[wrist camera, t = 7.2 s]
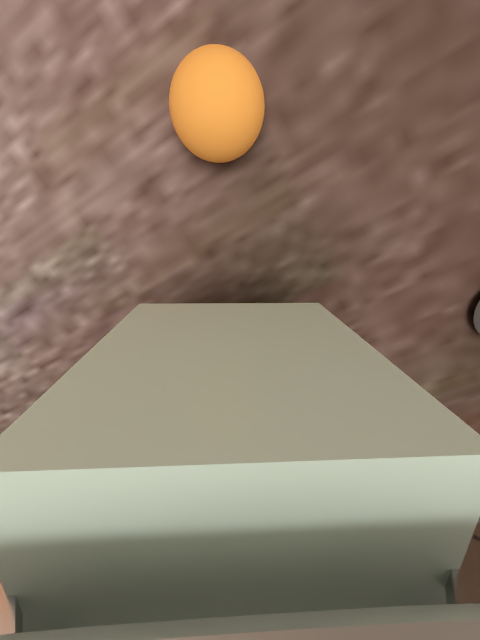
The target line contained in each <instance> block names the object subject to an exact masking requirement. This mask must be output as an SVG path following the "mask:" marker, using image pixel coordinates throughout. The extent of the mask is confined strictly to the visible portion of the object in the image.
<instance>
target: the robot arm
mask: <svg viewBox="0 0 480 640" xmlns="http://www.w3.org/2000/svg"><path fill="white" fill-rule="evenodd" d="M445 592H446V602H447V604H440V605H413V606H394V607H377V608H360V609H343V610H326V611H309V612H294V613H278V614H263V615H248V616H233V617H218V618H203V619H188V620H174V621H160V622H146V623H132V624H118V625H104V626H90V627H77V628H66V629H56V630H45V631H34V632H24V633H23V613H22V611H21V608H20V605H19V602H18V600H17V597H16V595H8V596H6V594H5V592H4V589H3V586H2V584H1V581H0V640H480V517H479V519H478V522H477V525H476V527H475V530H474V533H473V535H472V538H471V541H470V543H469V546H468V549H467V551H466V554H465V557H464V559H463V562H462V564H461V567H460V569H452V570H451V572H450V575H449V578H448V581H447V583H446V586H445Z"/></svg>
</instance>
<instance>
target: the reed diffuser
mask: <svg viewBox="0 0 480 640" xmlns="http://www.w3.org/2000/svg"><path fill="white" fill-rule="evenodd" d="M474 325H475V328H476V330H477V332H478V333H479V334H480V301H479V303H478V305H477V306H476V309H475V312H474Z"/></svg>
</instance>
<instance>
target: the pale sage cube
mask: <svg viewBox="0 0 480 640" xmlns="http://www.w3.org/2000/svg"><path fill="white" fill-rule="evenodd" d="M479 517H480V435H479V434H478V433H477V432H476V431H474V430H473V429H472V428H471V427H470V426H468V425H467V424H466V423H465V422H463V421H462V420H461V419H460V418H459V417H457V416H456V415H455V414H454V413H452V412H451V411H450V410H449V409H448V408H446V407H445V406H444V405H443V404H441V403H440V402H439V401H438V400H437V399H435V398H434V397H433V396H432V395H430V394H429V393H428V392H427V391H426V390H424V389H423V388H422V387H421V386H420V385H418V384H417V383H416V382H415V381H413V380H412V379H411V378H410V377H409V376H407V375H406V374H405V373H404V372H402V371H401V370H400V369H399V368H398V367H396V366H395V365H394V364H393V363H391V362H390V361H389V360H388V359H387V358H385V357H384V356H383V355H382V354H380V353H379V352H378V351H377V350H376V349H374V348H373V347H372V346H371V345H370V344H368V343H367V342H366V341H365V340H363V339H362V338H361V337H360V336H359V335H357V334H356V333H355V332H354V331H352V330H351V329H350V328H349V327H348V326H346V325H345V324H344V323H343V322H341V321H340V320H339V319H338V318H337V317H335V316H334V315H333V314H332V313H330V312H329V311H328V310H327V309H326V308H324V307H323V306H322V305H321V304H320V303H181V304H138V305H137V306H136V307H135V308H134V309H133V310H132V311H131V312H130V313H129V314H128V315H127V316H126V317H125V318H123V319H122V320H121V321H120V322H119V323H118V324H117V325H116V326H115V327H114V328H113V329H112V330H111V331H110V332H109V333H108V334H107V335H105V336H104V337H103V338H102V339H101V340H100V341H99V342H98V343H97V344H96V345H95V346H94V347H93V348H92V349H91V350H90V351H89V352H87V353H86V354H85V355H84V356H83V357H82V358H81V359H80V360H79V361H78V362H77V363H76V364H75V365H74V366H73V367H72V368H70V369H69V370H68V371H67V372H66V373H65V374H64V375H63V376H62V377H61V378H60V379H59V380H58V381H57V382H56V383H55V384H54V385H52V386H51V387H50V388H49V389H48V390H47V391H46V392H45V393H44V394H43V395H42V396H41V397H40V398H39V399H38V400H37V401H35V402H34V403H33V404H32V405H31V406H30V407H29V408H28V409H27V410H26V411H25V412H24V413H23V414H22V415H21V416H20V417H19V418H17V419H16V420H15V421H14V422H13V423H12V424H11V425H10V426H9V427H8V428H7V429H6V430H5V431H4V432H3V433H2V434H1V435H0V581H1V584H2V586H3V589H4V592H5V594H6V596H8V595H16V597H17V600H18V602H19V605H20V608H21V611H22V613H23V633H24V632H34V631H45V630H56V629H66V628H77V627H90V626H104V625H118V624H132V623H146V622H160V621H174V620H188V619H203V618H218V617H233V616H248V615H263V614H278V613H294V612H309V611H326V610H343V609H360V608H377V607H394V606H413V605H440V604H447V602H446V592H445V586H446V583H447V581H448V578H449V575H450V572H451V570H452V569H460V567H461V564H462V562H463V559H464V557H465V554H466V551H467V549H468V546H469V543H470V541H471V538H472V535H473V533H474V530H475V527H476V525H477V522H478V519H479Z"/></svg>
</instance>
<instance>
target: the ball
mask: <svg viewBox="0 0 480 640" xmlns="http://www.w3.org/2000/svg"><path fill="white" fill-rule="evenodd" d="M169 108H170V115H171V119H172V123H173V126H174V129H175V131H176V133H177V135H178V136H179V138H180V140H181V141H182V143H183V144H184V145H185V146H186V148H187V149H188V150H190V151H191V152H192V153H193V154H194V155H196V156H197V157H199V158H201V159H203V160H206V161H209V162H215V163H224V162H229V161H232V160H235V159H237V158H239V157H240V156H242V155H243V154H245V153H246V152H247V151H248V150H249V149H250V147H251V146H252V145H253V144H254V142H255V140H256V139H257V137H258V135H259V133H260V130H261V127H262V123H263V118H264V110H265V103H264V94H263V89H262V85H261V82H260V79H259V77H258V75H257V73H256V71H255V69H254V68H253V66H252V65H251V63H250V62H249V61H248V60H247V59H246V58H245V57H244V56H243V55H242V54H241V53H239V52H238V51H236V50H235V49H233V48H231V47H228V46H225V45H219V44H209V45H204V46H201V47H199V48H197V49H195V50H193V51H192V52H190V53H189V54H188V55H187V56H186V57H185V58H184V59H183V60H182V62H181V63H180V64H179V66H178V68H177V70H176V71H175V73H174V76H173V79H172V82H171V86H170V94H169Z"/></svg>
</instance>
